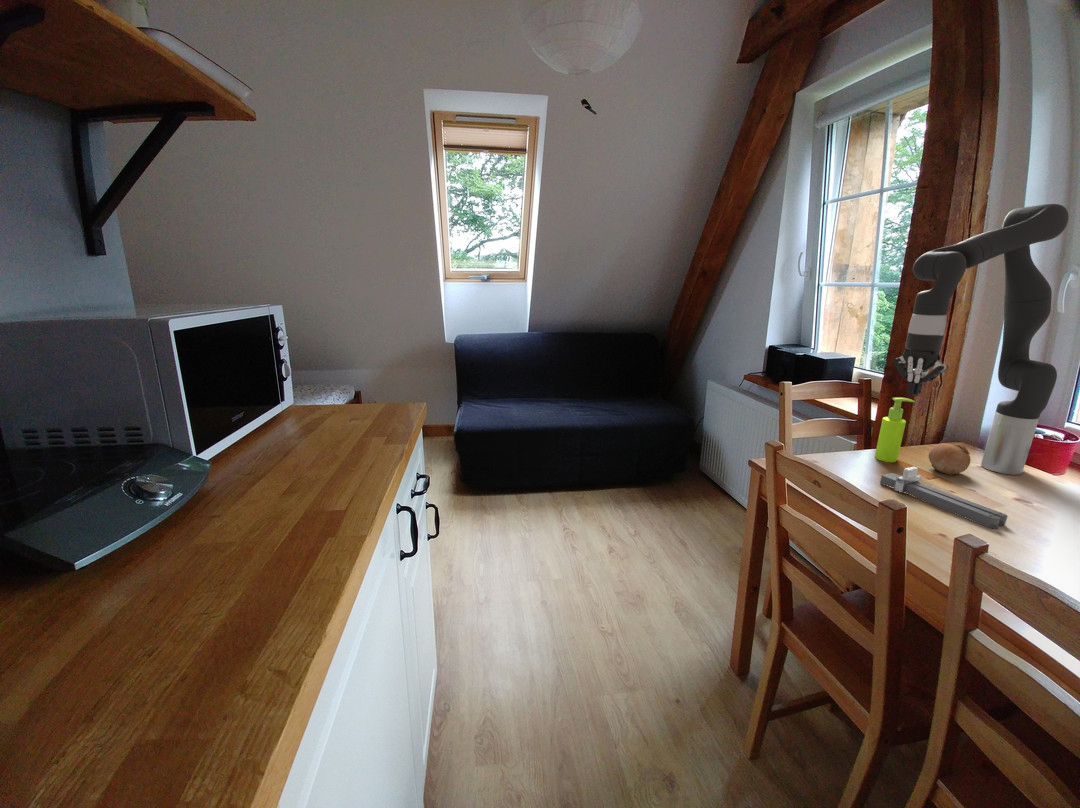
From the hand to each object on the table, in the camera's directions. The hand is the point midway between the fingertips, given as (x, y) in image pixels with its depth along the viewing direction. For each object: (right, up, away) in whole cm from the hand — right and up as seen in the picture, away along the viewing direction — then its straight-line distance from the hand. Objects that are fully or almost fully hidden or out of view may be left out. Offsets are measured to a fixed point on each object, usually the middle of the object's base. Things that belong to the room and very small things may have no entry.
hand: (913, 395), depth 131 cm
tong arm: (+3, -28, -8) cm, 29 cm away
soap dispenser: (+9, -20, +22) cm, 31 cm away
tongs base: (+1, -28, -7) cm, 29 cm away
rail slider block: (-2, -26, 0) cm, 26 cm away
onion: (+19, -23, +12) cm, 32 cm away
